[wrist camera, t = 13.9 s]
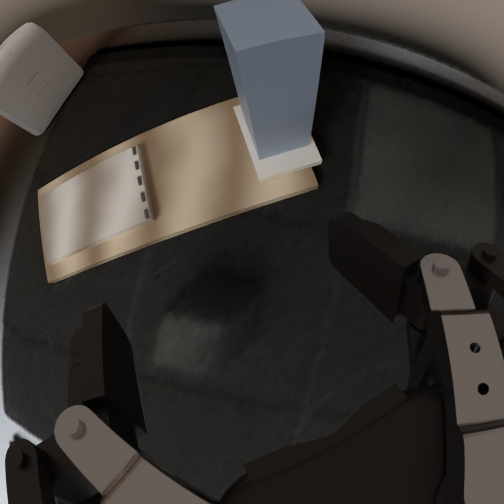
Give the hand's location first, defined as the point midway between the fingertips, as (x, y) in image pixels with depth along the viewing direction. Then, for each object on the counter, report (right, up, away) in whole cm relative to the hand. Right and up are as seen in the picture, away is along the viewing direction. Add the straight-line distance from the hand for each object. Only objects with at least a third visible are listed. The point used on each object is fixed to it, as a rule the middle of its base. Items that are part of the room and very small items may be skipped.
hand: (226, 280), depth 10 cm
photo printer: (-23, +20, +18) cm, 35 cm away
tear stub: (+3, +10, +13) cm, 17 cm away
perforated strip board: (-8, +7, +15) cm, 18 cm away
